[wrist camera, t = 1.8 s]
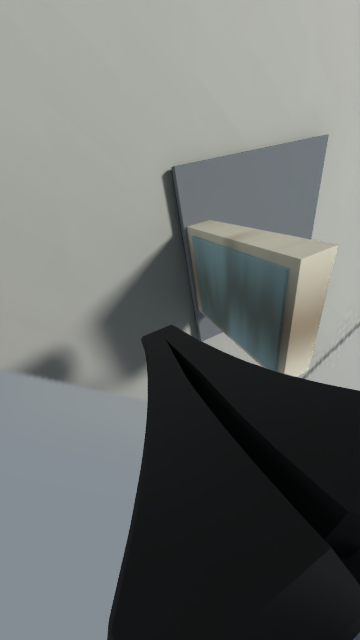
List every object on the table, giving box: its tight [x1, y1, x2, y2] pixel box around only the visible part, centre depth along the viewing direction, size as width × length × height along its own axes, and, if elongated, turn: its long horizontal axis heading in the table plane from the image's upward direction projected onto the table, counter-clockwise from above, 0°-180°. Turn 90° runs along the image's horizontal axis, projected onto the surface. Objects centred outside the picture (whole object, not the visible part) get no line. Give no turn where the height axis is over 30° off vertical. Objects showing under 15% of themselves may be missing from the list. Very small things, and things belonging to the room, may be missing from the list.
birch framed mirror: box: [187, 220, 338, 377], centre depth 12 cm, size 6×2×8 cm, turn 11°
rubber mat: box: [172, 134, 329, 341], centre depth 16 cm, size 12×11×1 cm
